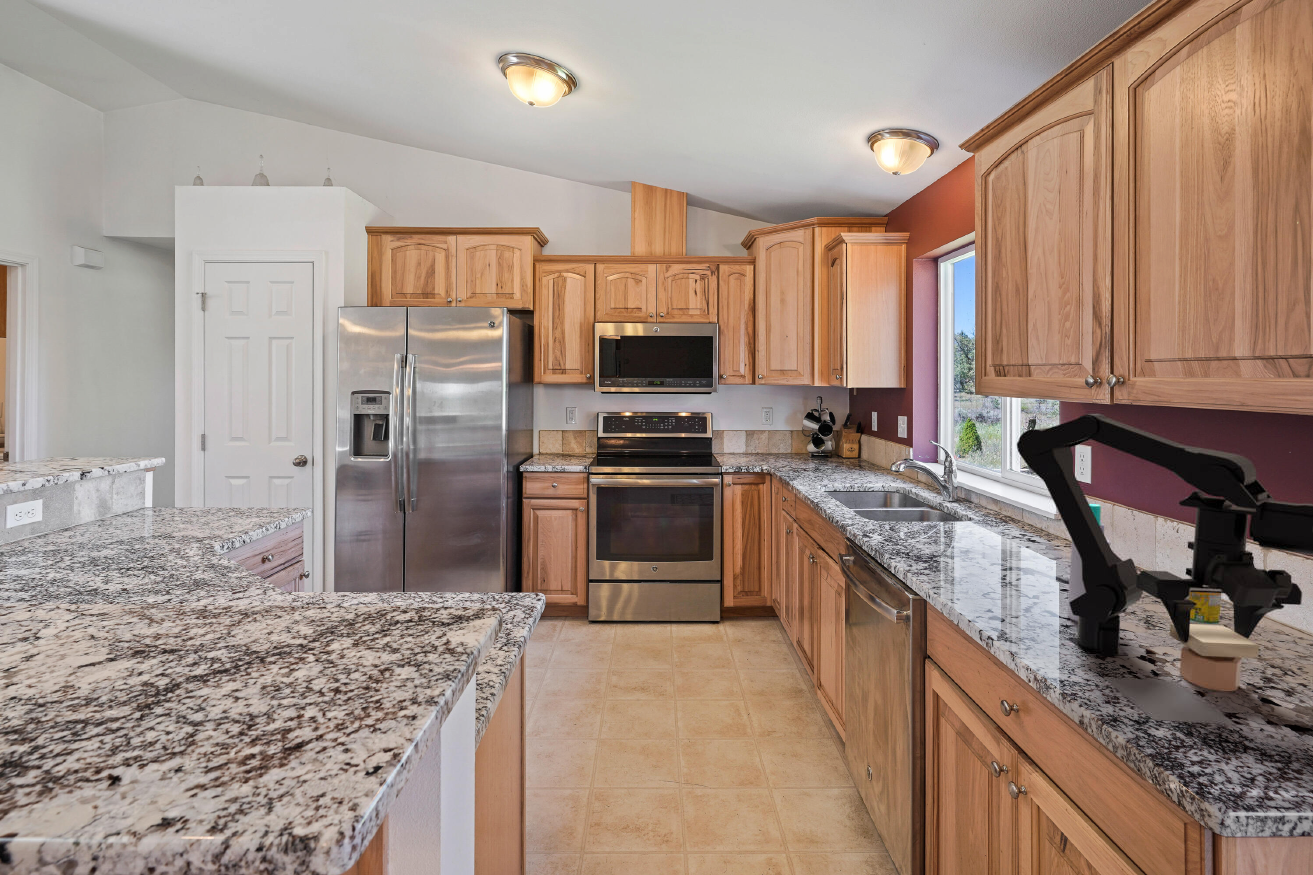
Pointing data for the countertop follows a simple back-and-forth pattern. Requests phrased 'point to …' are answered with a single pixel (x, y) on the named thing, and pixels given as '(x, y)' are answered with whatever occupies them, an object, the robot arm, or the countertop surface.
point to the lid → (1217, 641)
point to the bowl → (1210, 670)
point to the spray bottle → (1079, 567)
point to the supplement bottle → (1205, 608)
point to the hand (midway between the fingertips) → (1211, 642)
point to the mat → (1168, 701)
